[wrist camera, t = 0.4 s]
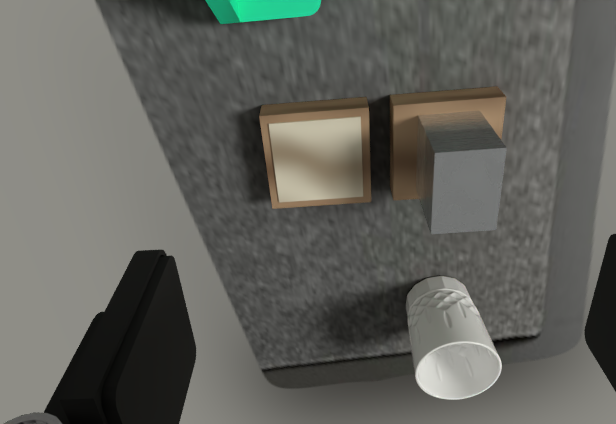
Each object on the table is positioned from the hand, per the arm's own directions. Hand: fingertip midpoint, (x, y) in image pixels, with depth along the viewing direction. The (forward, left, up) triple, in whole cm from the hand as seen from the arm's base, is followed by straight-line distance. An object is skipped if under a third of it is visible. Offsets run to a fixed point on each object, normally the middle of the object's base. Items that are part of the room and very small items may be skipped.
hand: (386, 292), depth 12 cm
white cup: (+32, +9, -35) cm, 48 cm away
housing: (+13, +9, -32) cm, 35 cm away
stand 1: (+13, -2, -34) cm, 37 cm away
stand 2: (+13, +9, -34) cm, 38 cm away
